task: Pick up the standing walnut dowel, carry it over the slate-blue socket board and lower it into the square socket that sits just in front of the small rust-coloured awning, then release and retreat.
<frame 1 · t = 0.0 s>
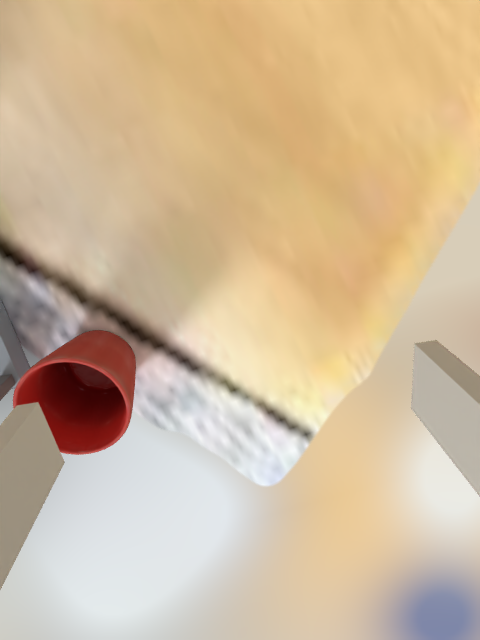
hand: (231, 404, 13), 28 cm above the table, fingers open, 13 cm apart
flower pot: (102, 358, 44), on the table
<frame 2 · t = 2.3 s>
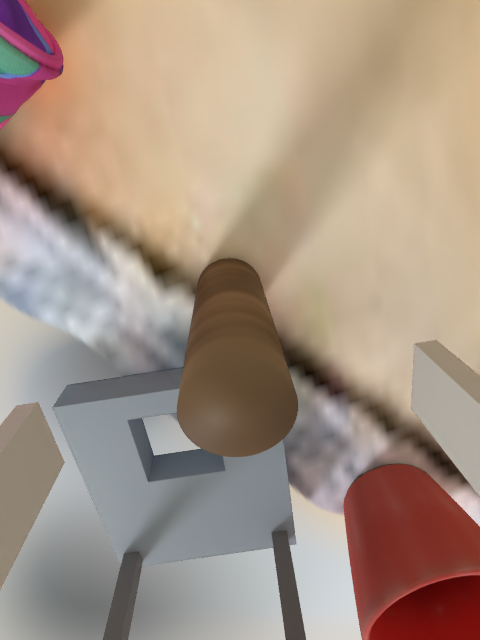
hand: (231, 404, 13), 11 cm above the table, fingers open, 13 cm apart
dowel: (229, 289, 23), on the table
flower pot: (386, 494, 32), on the table
socket board: (191, 457, 29), on the table
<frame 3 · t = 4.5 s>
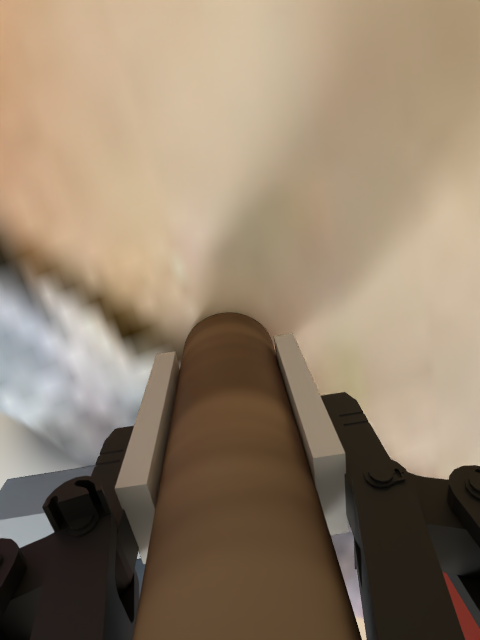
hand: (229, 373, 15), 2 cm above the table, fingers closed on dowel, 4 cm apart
dowel: (228, 354, 17), on the table, touching gripper
flower pot: (426, 594, 25), on the table
socket board: (177, 561, 22), on the table
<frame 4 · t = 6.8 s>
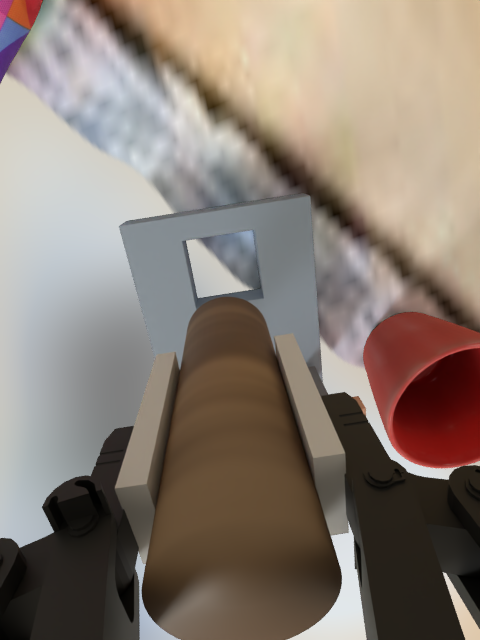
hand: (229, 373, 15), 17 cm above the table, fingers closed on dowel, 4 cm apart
dowel: (227, 334, 18), point 14 cm above the table, touching gripper
flower pot: (400, 347, 36), on the table
socket board: (230, 301, 32), on the table
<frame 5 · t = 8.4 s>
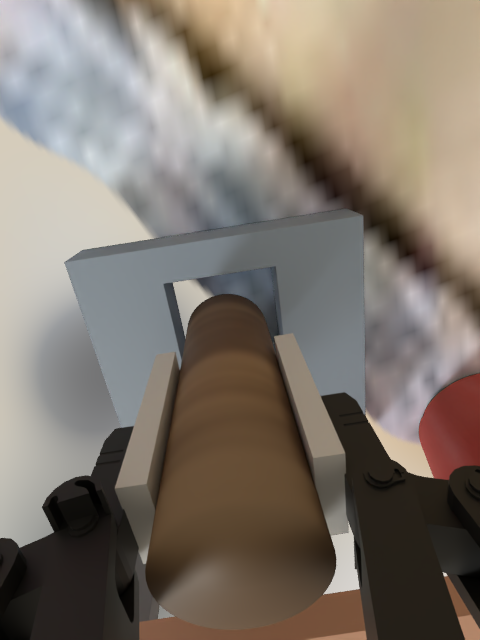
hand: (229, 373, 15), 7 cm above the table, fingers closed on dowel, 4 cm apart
dowel: (227, 331, 19), point 3 cm above the table, touching gripper
flower pot: (470, 417, 26), on the table
socket board: (236, 360, 23), on the table
when the fingers open (4 cm above the table, at t = 9.7 s): dowel stays where it is, resting in socket board.
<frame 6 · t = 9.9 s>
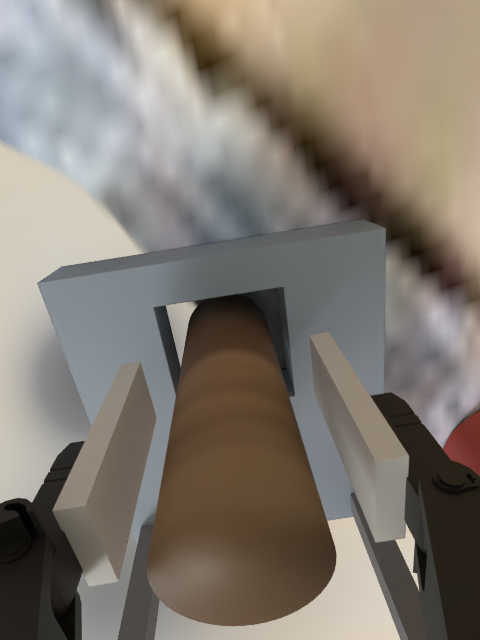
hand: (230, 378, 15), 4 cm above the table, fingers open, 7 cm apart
dowel: (227, 330, 19), resting in socket board
socket board: (237, 388, 20), on the table
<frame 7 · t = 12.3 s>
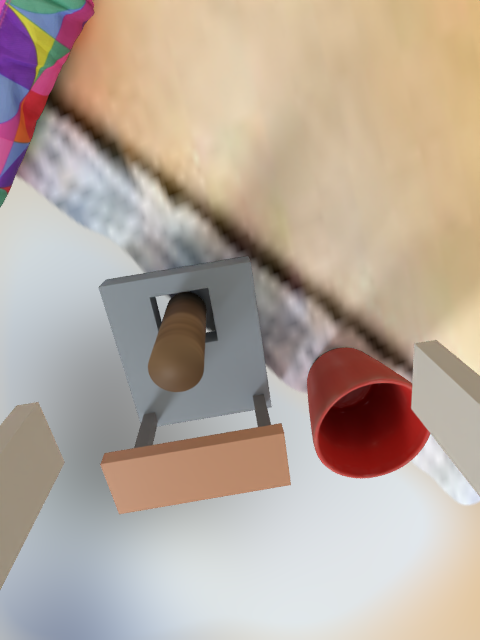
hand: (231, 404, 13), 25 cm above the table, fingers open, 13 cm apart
dowel: (186, 310, 38), resting in socket board
pencil case: (5, 111, 31), on the table
flower pot: (339, 376, 42), on the table
socket board: (193, 341, 39), on the table
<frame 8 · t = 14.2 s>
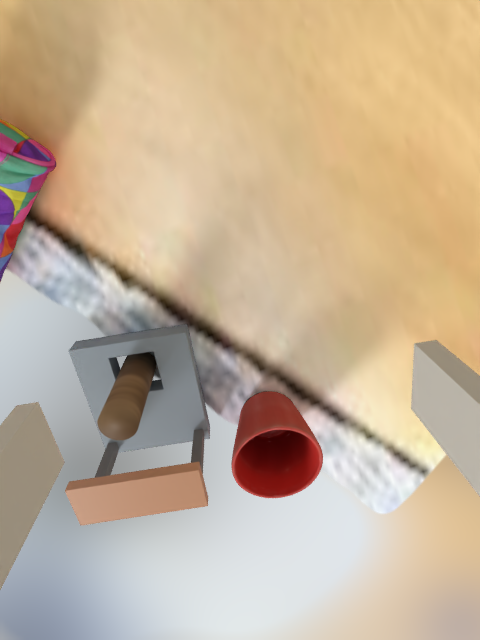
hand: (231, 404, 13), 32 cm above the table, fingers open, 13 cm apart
dowel: (140, 363, 48), resting in socket board
flower pot: (267, 412, 53), on the table
socket board: (147, 386, 50), on the table
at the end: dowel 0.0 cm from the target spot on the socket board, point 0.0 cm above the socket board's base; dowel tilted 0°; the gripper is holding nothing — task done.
